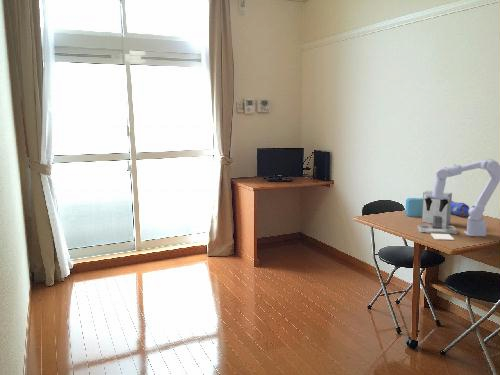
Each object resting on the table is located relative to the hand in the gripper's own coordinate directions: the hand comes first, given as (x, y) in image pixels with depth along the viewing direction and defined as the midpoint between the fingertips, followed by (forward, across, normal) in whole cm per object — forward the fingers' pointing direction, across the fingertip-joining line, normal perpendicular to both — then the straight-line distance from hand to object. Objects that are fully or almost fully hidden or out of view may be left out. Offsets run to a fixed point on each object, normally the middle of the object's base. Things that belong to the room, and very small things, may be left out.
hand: (434, 211), depth 243 cm
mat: (+12, -1, +13) cm, 17 cm away
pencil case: (+11, -34, -38) cm, 52 cm away
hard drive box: (+12, -12, -17) cm, 24 cm away
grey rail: (+12, -4, +1) cm, 13 cm away
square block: (+12, -4, +1) cm, 13 cm away
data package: (+14, -7, -35) cm, 39 cm away
